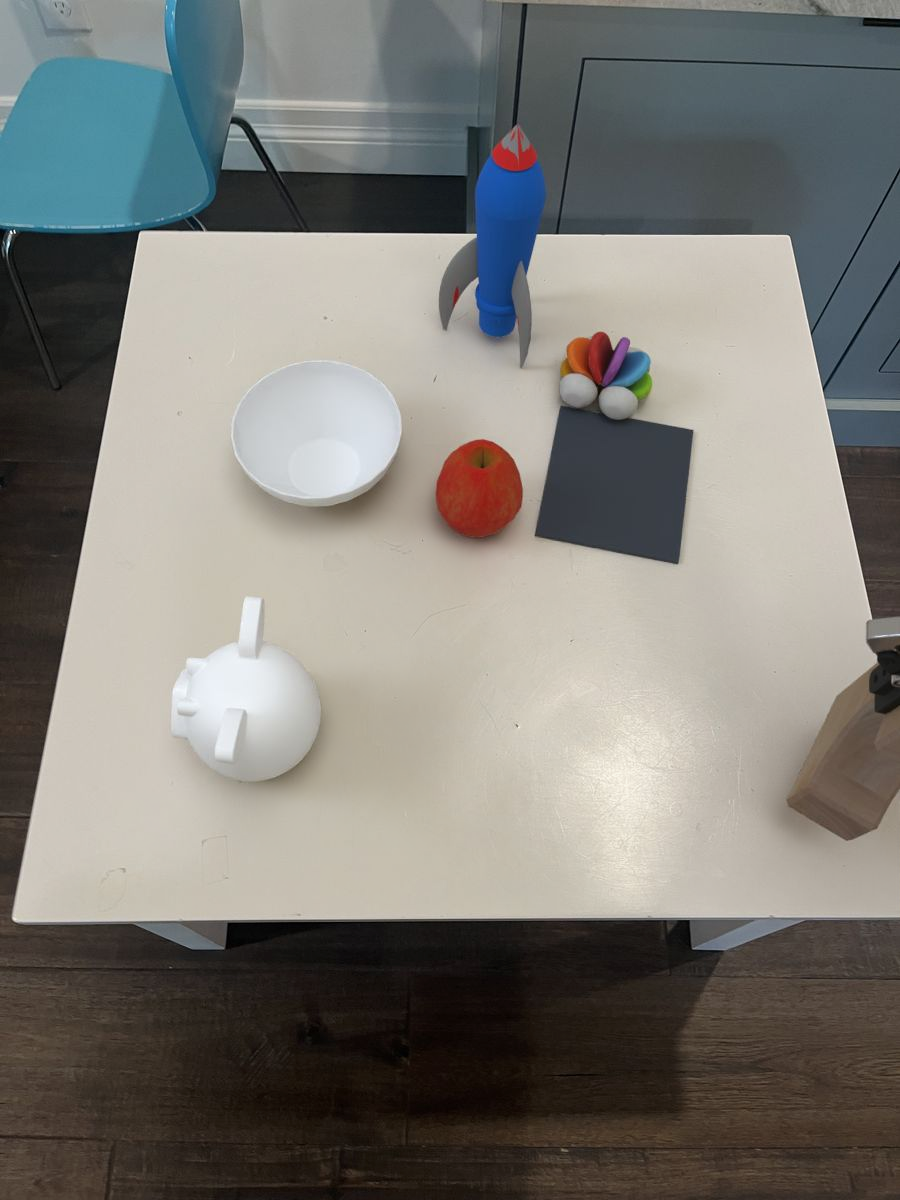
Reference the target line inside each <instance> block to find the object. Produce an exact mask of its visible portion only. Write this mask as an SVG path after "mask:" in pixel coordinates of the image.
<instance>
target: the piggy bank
mask: <svg viewBox="0 0 900 1200" xmlns="http://www.w3.org/2000/svg"><path fill="white" fill-rule="evenodd" d="M265 612H266V606H265V599H264V598H263V597H261V596H252V595H245V596H244V599H243V604H242V611H241V619H240V625H239V633H238V641H234V642H231V643H227V644H225V645H223V646H220V647H218V648H217V649H215V650H214V651H212V652H211V653H209V654H208V655H207V656H206V657H205V658H204V657H194V656H193V657H192V656H189V657H187V659H186V662H185V667H184V668H183V670H182V671H181V673H180V674H179V675H178V677H177V679H176V681H175V683H174V685H173V687H172V693H171V708H170V709H171V713H170V732H171V736H172V738H175V739H182V740H183V739H184V740H188V742H189V743H190V745H191V747H192V749H193V751H194V752H195V754H196V755H197V756H198V758H199V759H200V760H201V761H202V762H203V763H204V764H205V765H206V766H207V767H209V768H210V769H212V770H213V771H214V772H216V773H218V774H219V775H221V776H223V777H226V778H228V779H231V780H235V781H241V782H261V781H267V780H271V779H274V778H276V777H278V776H281V775H283V774H285V773H287V772H288V771H290V770H292V769H293V768H294V767H295V766H296V765H298V764H299V763H300V762H301V761H302V760H303V759H304V758H305V756H306V755H307V754H308V753H309V751H310V750H311V748H312V747H313V746H314V743H315V740H316V739H317V736H318V733H319V731H320V725H321V717H322V709H321V708H322V706H321V699H320V694H319V691H318V688H317V686H316V685H317V684H316V683H315V681H314V678H313V677H312V675H311V673H310V672H309V670H308V669H307V668H306V667H305V666H304V664H303V663H302V662H301V661H300V660H299V659H298V658H297V657H296V656H295V655H294V654H292V653H291V652H290V651H289V650H286V649H284V648H283V647H280V646H278V645H276V644H274V643H271V642H268V641H264V633H265V618H266V615H265V614H266V613H265Z"/></svg>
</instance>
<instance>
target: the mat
mask: <svg viewBox="0 0 900 1200" xmlns="http://www.w3.org/2000/svg"><path fill="white" fill-rule="evenodd" d="M558 412H559V413H558V415H557V421H556V427H555V431H554V437H553V442H552V447H551V452H550V456H549V462H548V467H547V471H546V472H547V473H546V478H545V482H544V487H543V493H542V498H541V503H540V507H539V512H538V513H539V514H538V519H537V522H536V523H537V524H536V529H535V534H534V537H536V538H543V539H547V540H553V541H557V542H563V543H567V544H573V545H577V546H578V545H579V546H584V547H587V548H594V549H599V550H605V551H608V552H613V553H619V554H624V555H629V556H634V557H639V558H643V559H649V560H654V561H659V562H664V563H670V564H674V565H675V564H676V565H679V563H680V557H681V556H680V555H681V547H682V538H683V528H684V520H685V519H684V518H685V512H686V501H687V493H688V484H689V474H690V467H691V466H690V465H691V458H692V447H693V439H694V429H690V428H687V427H680V426H675V425H669V424H665V423H664V424H663V423H658V422H652V421H648V420H642V419H638V418H637V419H636V418H632V417H628V418H626V419H622V420H615V419H611V418H609V417H607V416H606V415H605V414H604V413H603V412H599V411H593V410H589V409H583V408H576V407H572V406H567V405H562V404H561V405H560V406H559V411H558Z"/></svg>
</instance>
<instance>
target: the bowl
mask: <svg viewBox="0 0 900 1200" xmlns="http://www.w3.org/2000/svg"><path fill="white" fill-rule="evenodd" d="M402 435H403V425H402V414H401V411H400V408H399V406H398V403H397V400H396V398H395V397H394V395H393V394H392V392H391V391H390V390H389V389H388V387H387V386H386V385H385V383H384V382H382V381H381V379H378V378H377V377H376V376H374V375H373V374H372V373H370V372H369V371H368V370H365V369H362V368H360V367H357V366H356V365H353V364H351V363H347V362H341V361H336V360H330V359H317V360H315V359H313V360H304V361H299V362H295V363H291V364H287V365H284V366H282V367H279V368H278V369H275V370H273V371H271V372H269V373H267V374H266V375H264V376H262V378H260V379H259V380H258V381H256V382H255V383H254V384H253V385H251V386H250V387H249V389H248V390H247V391H246V392H245V394H244V395H243V397H242V398H241V399H240V401H239V402H238V403H237V406H236V408H235V410H234V414H233V416H232V419H231V430H230V441H231V445H232V448H233V452H234V455H235V458H236V460H237V461H238V463H239V465H240V466H241V468H242V469H243V471H244V473H245V474H246V475H247V477H248V478H249V479H250V480H251V481H252V482H253V483H254V484H256V485H257V486H258V487H259V488H261V489H262V490H263V492H266V493H267V494H269V495H270V496H272V497H275V498H277V499H279V500H281V501H284V502H286V503H289V504H295V505H298V506H305V507H331V506H335V505H338V504H342V503H345V502H350V501H351V500H353V499H355V498H357V497H358V496H361V495H363V494H364V493H366V492H369V491H370V490H371V489H372V488H373V487H374V486H375V485H376V484H377V483H379V482H380V481H381V480H382V479H383V478H384V476H386V473H387V472H388V470H389V469H390V467H391V465H392V464H393V462H394V461H395V460H396V458H397V455H398V451H399V449H400V445H401V441H402Z"/></svg>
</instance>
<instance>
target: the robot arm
mask: <svg viewBox="0 0 900 1200" xmlns="http://www.w3.org/2000/svg"><path fill="white" fill-rule="evenodd" d="M865 643H866V645H867V646H868V647H869V649H870V650H871V652H872V653H873V654H875V655H876V661H877V662H878V663H879V665H878V666H877V667H876V668H875V669H873V670H872V672H871V674H870V677H869V691H870V693H872V694H875V712H876V713H881V714H886V713H888V712H890V711H891V710H893V709H894V708H896V707H897V706H898V705H900V616H899V615H898V616H890V617H881V618H872V619H869V620H866V622H865ZM877 662H876V663H877Z"/></svg>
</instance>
